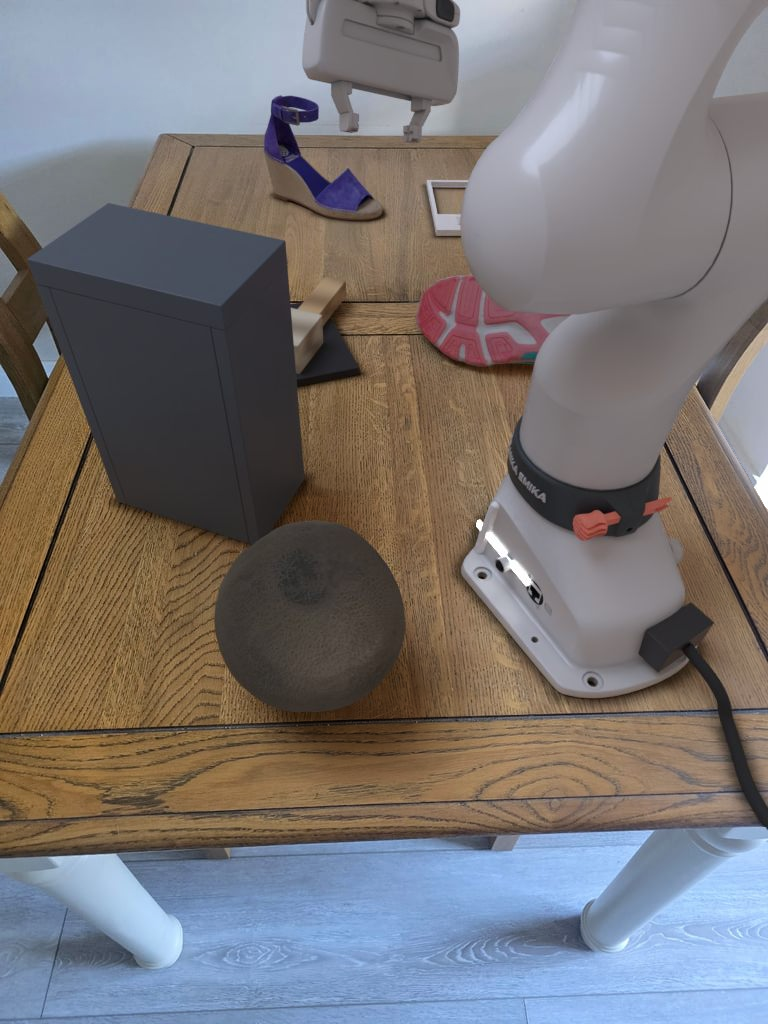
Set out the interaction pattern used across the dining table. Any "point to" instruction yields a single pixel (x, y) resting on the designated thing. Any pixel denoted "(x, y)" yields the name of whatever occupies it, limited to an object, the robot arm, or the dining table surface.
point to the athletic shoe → (480, 325)
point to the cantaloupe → (309, 617)
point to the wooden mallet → (315, 319)
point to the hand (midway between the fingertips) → (381, 137)
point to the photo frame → (445, 222)
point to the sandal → (310, 168)
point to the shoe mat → (328, 358)
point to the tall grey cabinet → (181, 364)
